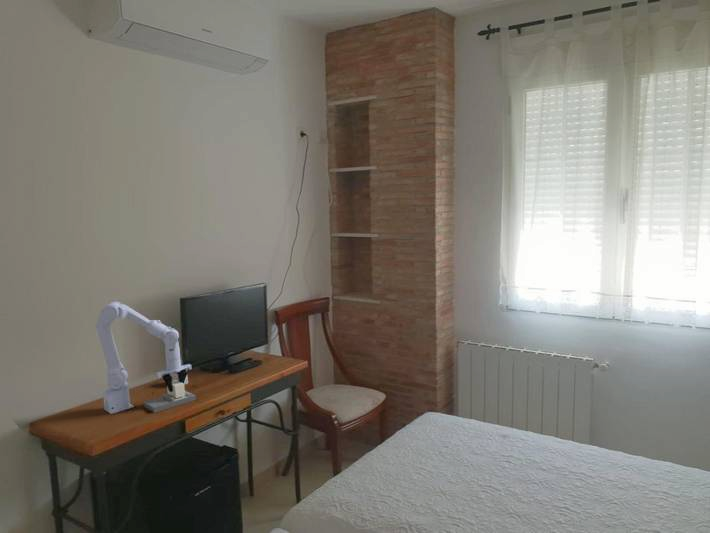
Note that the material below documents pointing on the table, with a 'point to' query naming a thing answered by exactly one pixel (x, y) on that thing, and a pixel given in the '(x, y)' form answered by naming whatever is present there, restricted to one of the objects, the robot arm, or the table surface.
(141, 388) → the table surface
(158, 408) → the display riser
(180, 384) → the cream white block
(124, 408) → the robot arm
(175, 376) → the medicine box
